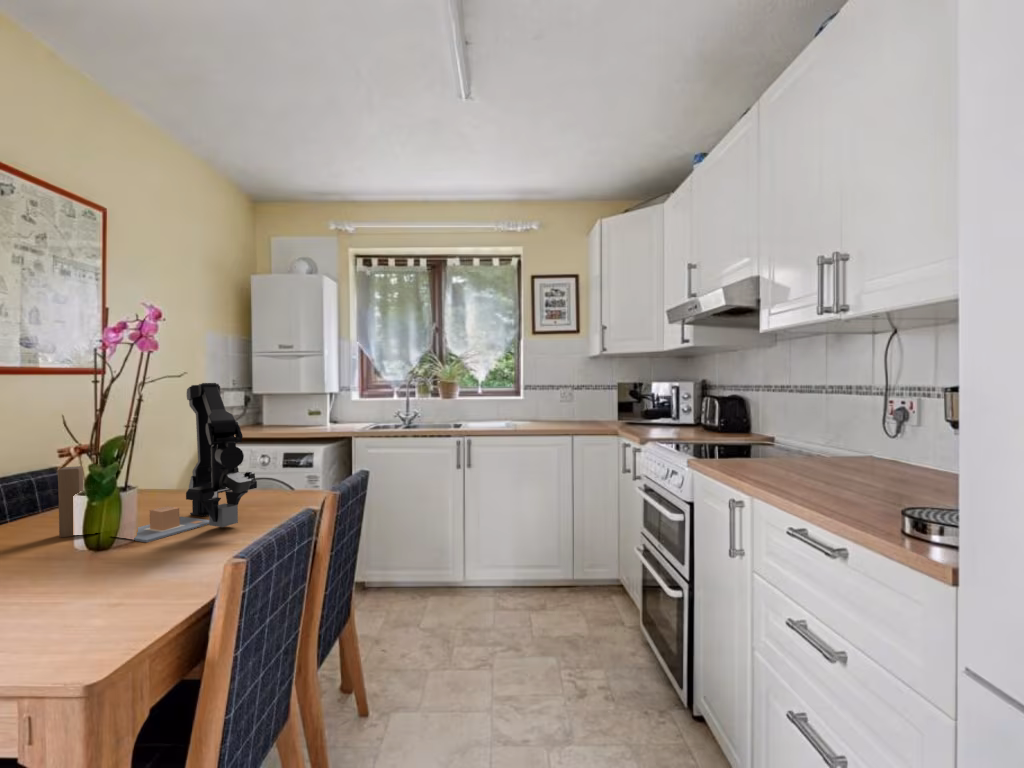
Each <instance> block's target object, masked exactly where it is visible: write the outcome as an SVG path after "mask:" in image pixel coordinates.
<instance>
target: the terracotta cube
mask: <svg viewBox="0 0 1024 768" xmlns="http://www.w3.org/2000/svg"><path fill="white" fill-rule="evenodd" d="M149 524H150V529H156V530H166V529H170V528H173V527H177V526H180V507H174V506H169V505H167V506H162V507H157V508H154V509H150V510H149Z"/></svg>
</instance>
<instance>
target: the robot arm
mask: <svg viewBox="0 0 1024 768" xmlns="http://www.w3.org/2000/svg"><path fill="white" fill-rule="evenodd" d="M221 393H222V391H221V386H220V384H219V383H216V382H202V383H199V384H192V385H191V386H189V387H188V388H187V389H186V400H187V401H188V402H189V403H188V404H189V408H191V410H192V411H193V413H195V422H196V423H195V425H196V427H195V428H196V429H195V430H196V445H197V446H196V447H197V448H196V449H197V463H196V464H195V466H194V468H193V469H192V475H191V476H190V479H189V485H188V489H187V490H186V493H185V500H188V501H191V502H192V506H191V507H192V509H191V510H192V512H189V514H191V516H199V517H207V515H208V516H209V515H210V517H211V518H212V520H213V522H217V520H218V505H220V504H219V503H220V501H221V499H222V497H219V494H220V493H225V498H226V504H234V505H238V506H239V503H240V500H241V498H242V497H243V496H245V495H246V494H248V493H249V491H251V490H255V489H257V488H258V482H257V480H256V476H255V475H256V473H255V472H254V471H246V472H245V473H240V472H239V467H238V466H240V465H241V464H242V463H243V460H244V459H245V458H244V457H245V454H244V452H243V450H242V449H241V448H239V447H238V446H237V445H236V444H240V443H242V441H243V432H242V430H241V426H240V425H239V423H238V421H237V420H236V418H235V416H234V415H233V414H232V413H231V412H228V411H227V409H226V407H225V404H224V401H223V399H222V396H221Z"/></svg>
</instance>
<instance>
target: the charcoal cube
mask: <svg viewBox="0 0 1024 768" xmlns="http://www.w3.org/2000/svg"><path fill="white" fill-rule="evenodd" d="M238 507H239V504H238V505H234V504H227V503H226V502H225V503H220V504H219V505H218V520H217V522H213V520H212V518H211V517H210V515H208V520H209V525H208V526H210V527H218V528H224V527H228V526H232V525H235V524H237V523H239V514H238V513H239V512H238V511H239V510H238Z"/></svg>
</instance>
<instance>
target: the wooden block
mask: <svg viewBox="0 0 1024 768" xmlns="http://www.w3.org/2000/svg"><path fill="white" fill-rule="evenodd" d="M57 486H58V487H57V488H58V489H57V490H58V491H57V492H58V533H59V534H58V535H59V538H60V539H61V538H72V537H74V536H73V496H74V495H75V494H77V493H79V492H80V491H83V492H84V467H83V466H81V465H79V466H64V467H61V468H59V469H58V470H57Z"/></svg>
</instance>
